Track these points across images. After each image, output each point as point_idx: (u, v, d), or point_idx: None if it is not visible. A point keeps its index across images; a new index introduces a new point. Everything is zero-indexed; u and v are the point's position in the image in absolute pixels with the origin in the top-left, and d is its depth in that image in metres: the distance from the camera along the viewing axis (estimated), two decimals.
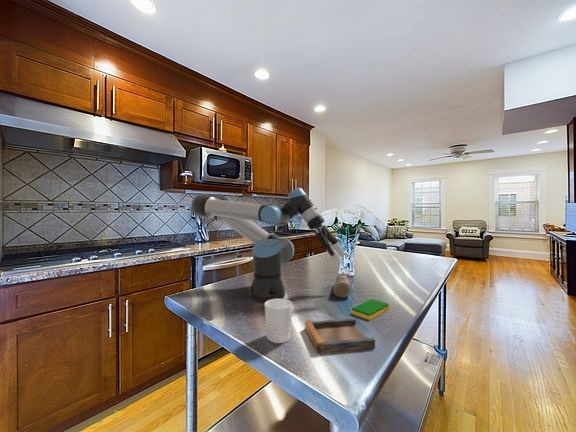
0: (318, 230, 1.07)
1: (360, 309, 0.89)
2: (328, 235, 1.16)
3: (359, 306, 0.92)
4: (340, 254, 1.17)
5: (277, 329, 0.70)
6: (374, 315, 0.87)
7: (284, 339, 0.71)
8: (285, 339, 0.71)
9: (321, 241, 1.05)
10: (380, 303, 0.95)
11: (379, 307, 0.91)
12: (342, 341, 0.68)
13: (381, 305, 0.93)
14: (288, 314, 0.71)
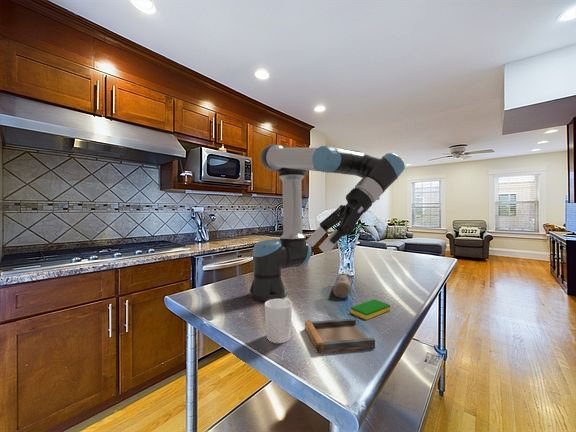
0: (361, 212, 0.70)
1: (359, 308, 0.90)
2: (338, 220, 0.80)
3: (359, 306, 0.92)
4: (310, 240, 0.81)
5: (277, 329, 0.70)
6: (372, 315, 0.88)
7: (284, 339, 0.71)
8: (285, 339, 0.71)
9: (350, 221, 0.67)
10: (381, 303, 0.95)
11: (379, 307, 0.91)
12: (342, 341, 0.68)
13: (382, 306, 0.92)
14: (288, 314, 0.71)
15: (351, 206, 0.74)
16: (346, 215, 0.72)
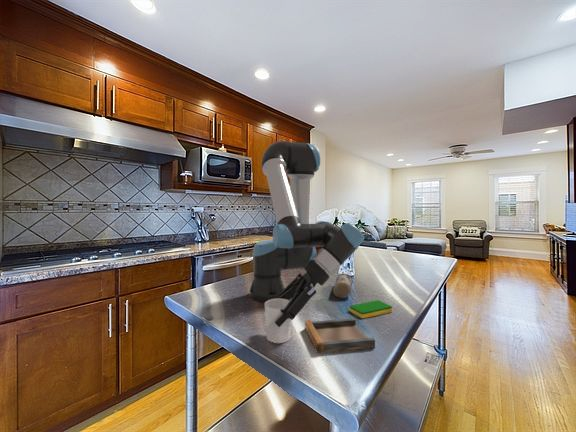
0: (311, 294, 0.68)
1: (357, 307, 0.91)
2: (296, 292, 0.77)
3: (358, 305, 0.93)
4: None
5: None
6: (369, 315, 0.88)
7: (284, 339, 0.71)
8: (285, 339, 0.71)
9: (296, 306, 0.67)
10: (383, 304, 0.94)
11: (378, 308, 0.90)
12: (342, 341, 0.68)
13: (382, 306, 0.92)
14: None
15: (307, 280, 0.72)
16: (297, 293, 0.71)
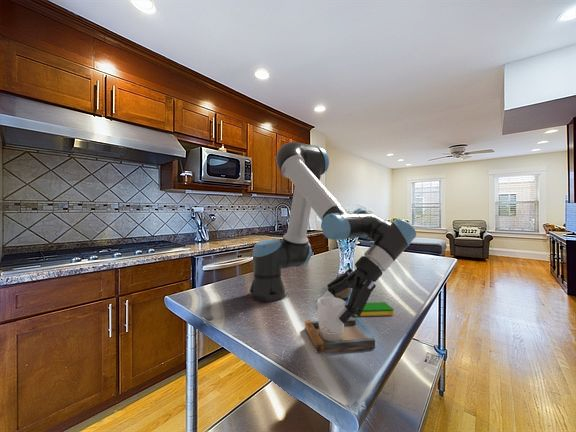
0: (371, 288, 0.68)
1: None
2: (346, 286, 0.77)
3: None
4: None
5: None
6: (364, 313, 0.89)
7: (339, 337, 0.71)
8: (339, 337, 0.71)
9: (360, 300, 0.65)
10: (385, 306, 0.92)
11: (376, 309, 0.90)
12: (342, 341, 0.68)
13: (382, 308, 0.90)
14: None
15: (361, 277, 0.72)
16: (356, 289, 0.70)
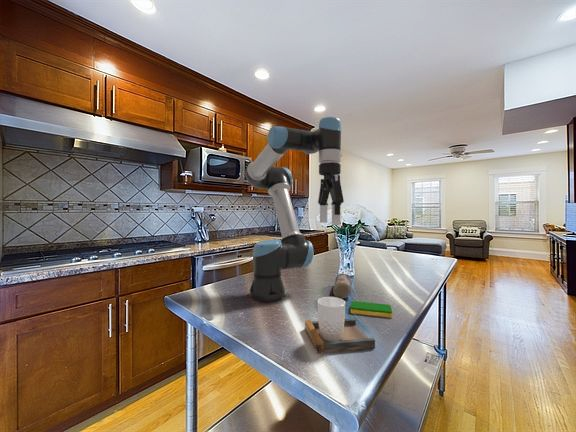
0: (338, 179, 0.84)
1: (354, 303, 0.95)
2: (327, 192, 0.94)
3: (360, 302, 0.96)
4: (322, 219, 0.97)
5: (333, 327, 0.70)
6: (360, 312, 0.90)
7: (339, 337, 0.71)
8: (339, 337, 0.71)
9: (337, 192, 0.82)
10: (386, 308, 0.90)
11: (374, 309, 0.89)
12: (342, 341, 0.68)
13: (380, 309, 0.89)
14: (343, 312, 0.71)
15: (328, 178, 0.88)
16: (330, 188, 0.86)
